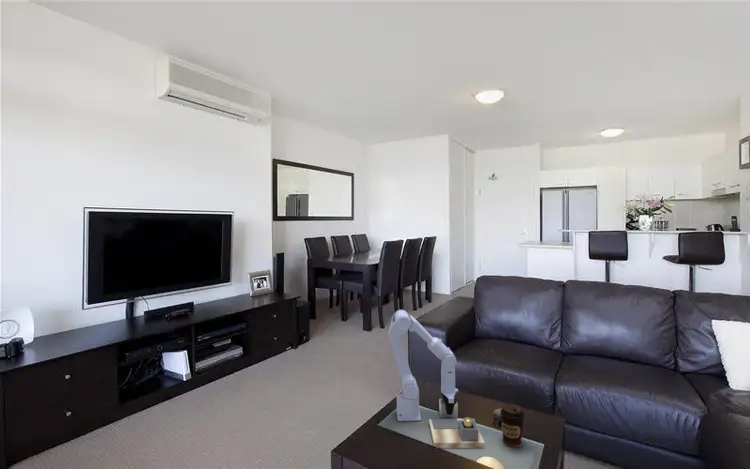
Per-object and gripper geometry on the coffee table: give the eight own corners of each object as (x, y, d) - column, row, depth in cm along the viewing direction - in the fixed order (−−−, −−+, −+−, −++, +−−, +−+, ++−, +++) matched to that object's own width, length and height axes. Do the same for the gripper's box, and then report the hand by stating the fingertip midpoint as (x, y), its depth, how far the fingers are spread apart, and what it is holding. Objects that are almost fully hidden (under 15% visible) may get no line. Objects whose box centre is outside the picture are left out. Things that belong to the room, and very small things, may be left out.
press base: (434, 448, 132) (434, 431, 131) (429, 423, 146) (428, 409, 146) (484, 447, 131) (484, 431, 131) (474, 423, 146) (474, 408, 146)
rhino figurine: (520, 417, 150) (520, 403, 149) (498, 428, 142) (498, 414, 142) (512, 413, 153) (512, 399, 153) (489, 423, 146) (489, 409, 146)
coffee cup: (522, 453, 128) (522, 417, 127) (497, 445, 132) (497, 410, 131) (526, 439, 135) (526, 405, 134) (503, 432, 140) (503, 400, 139)
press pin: (464, 432, 133) (464, 421, 133) (462, 427, 136) (462, 417, 136) (472, 432, 133) (472, 421, 133) (471, 427, 136) (470, 417, 136)
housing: (440, 417, 151) (440, 404, 151) (439, 411, 156) (439, 398, 155) (457, 417, 151) (457, 404, 151) (455, 411, 155) (455, 398, 155)
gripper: (461, 387, 145) (461, 420, 146) (454, 371, 159) (454, 401, 160) (443, 387, 145) (444, 420, 146) (438, 371, 160) (438, 401, 160)
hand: (448, 410), depth 153 cm, fingers closed on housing, 4 cm apart
